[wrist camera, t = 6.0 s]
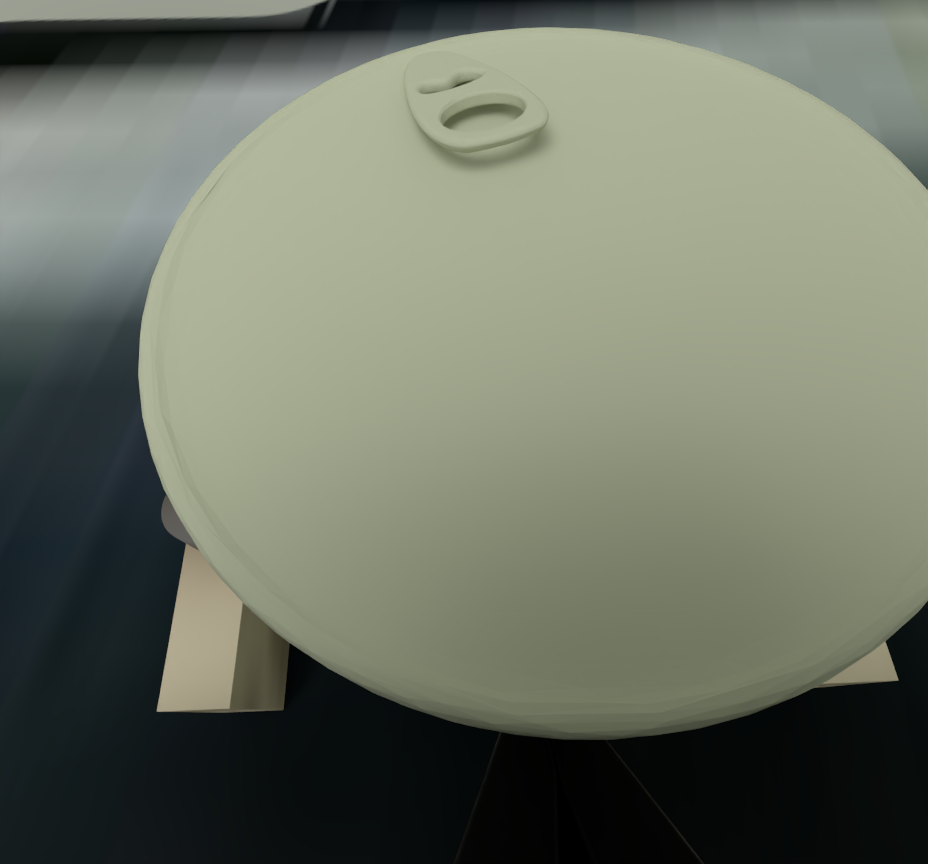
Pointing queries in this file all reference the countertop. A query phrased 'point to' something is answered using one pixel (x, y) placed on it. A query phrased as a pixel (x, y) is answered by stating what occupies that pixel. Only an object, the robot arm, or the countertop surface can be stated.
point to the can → (554, 382)
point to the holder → (280, 646)
